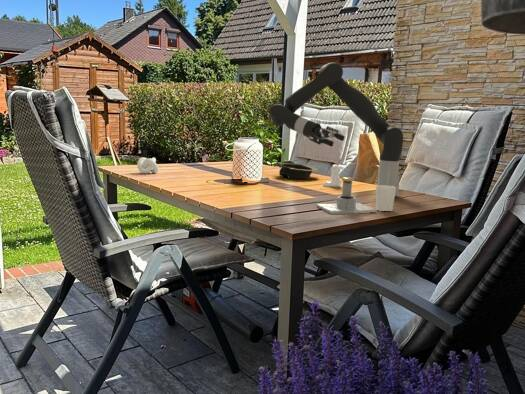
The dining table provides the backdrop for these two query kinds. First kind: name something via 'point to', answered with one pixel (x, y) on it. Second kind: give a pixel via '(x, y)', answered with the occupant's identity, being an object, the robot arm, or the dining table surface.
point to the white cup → (385, 197)
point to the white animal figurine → (147, 165)
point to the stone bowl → (295, 170)
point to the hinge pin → (347, 187)
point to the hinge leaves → (345, 207)
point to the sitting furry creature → (334, 177)
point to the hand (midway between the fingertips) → (338, 141)
